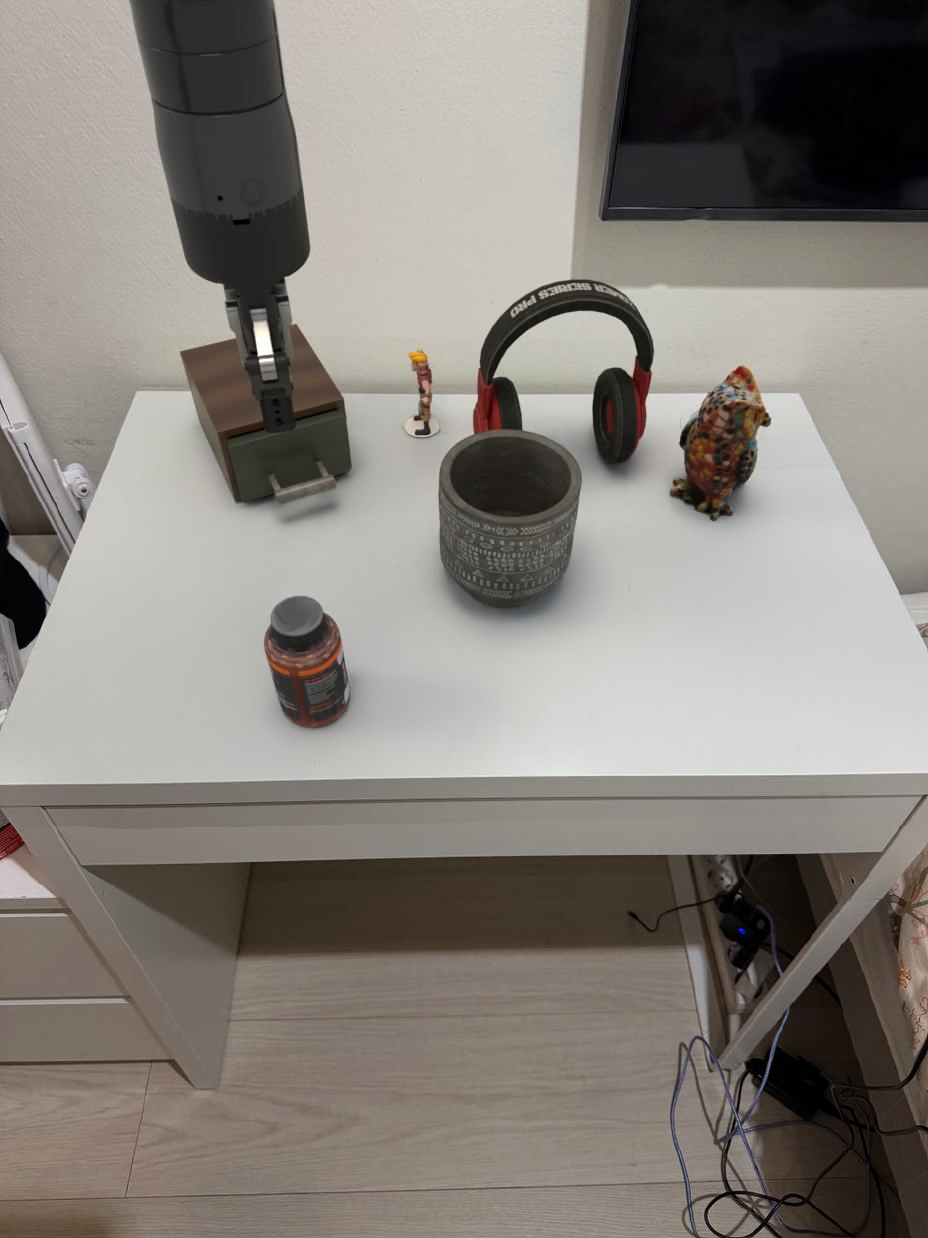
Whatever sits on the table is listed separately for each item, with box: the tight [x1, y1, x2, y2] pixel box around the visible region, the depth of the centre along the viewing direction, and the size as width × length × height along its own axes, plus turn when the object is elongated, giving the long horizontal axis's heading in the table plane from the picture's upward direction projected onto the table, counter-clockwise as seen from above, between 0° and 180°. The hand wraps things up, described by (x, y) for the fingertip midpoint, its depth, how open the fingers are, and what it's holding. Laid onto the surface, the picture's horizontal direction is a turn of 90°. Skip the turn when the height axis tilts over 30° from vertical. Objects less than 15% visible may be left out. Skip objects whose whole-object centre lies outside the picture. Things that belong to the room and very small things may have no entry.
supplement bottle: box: [263, 595, 351, 728], centre depth 67 cm, size 6×6×11 cm
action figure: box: [403, 347, 440, 438], centre depth 91 cm, size 12×3×9 cm, turn 5°
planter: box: [437, 429, 583, 609], centre depth 76 cm, size 12×12×13 cm
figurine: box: [669, 364, 772, 522], centre depth 83 cm, size 9×9×15 cm
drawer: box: [226, 409, 351, 506], centre depth 87 cm, size 18×12×7 cm, turn 26°
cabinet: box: [179, 323, 353, 503], centre depth 90 cm, size 15×13×9 cm
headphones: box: [472, 278, 655, 465], centre depth 84 cm, size 18×10×20 cm, turn 99°
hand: (280, 426), depth 61 cm, fingers closed
